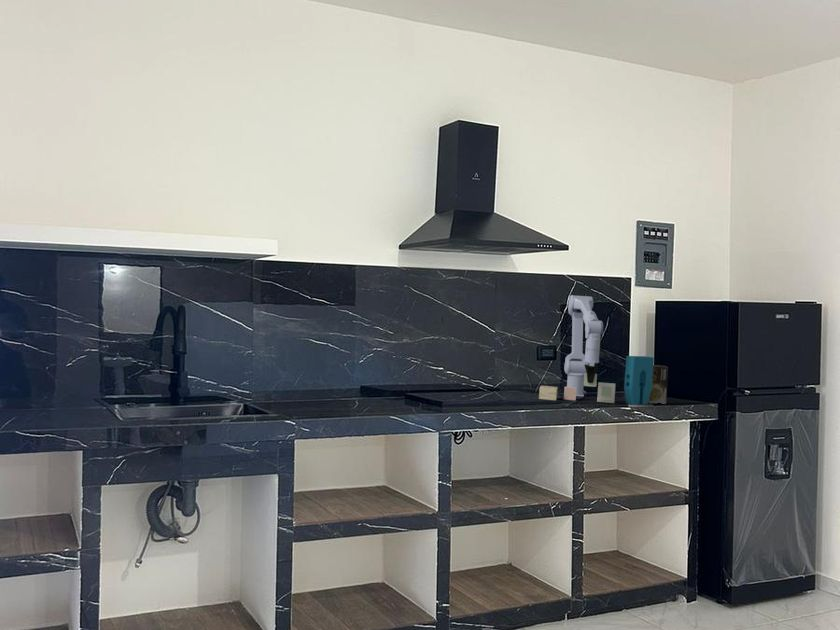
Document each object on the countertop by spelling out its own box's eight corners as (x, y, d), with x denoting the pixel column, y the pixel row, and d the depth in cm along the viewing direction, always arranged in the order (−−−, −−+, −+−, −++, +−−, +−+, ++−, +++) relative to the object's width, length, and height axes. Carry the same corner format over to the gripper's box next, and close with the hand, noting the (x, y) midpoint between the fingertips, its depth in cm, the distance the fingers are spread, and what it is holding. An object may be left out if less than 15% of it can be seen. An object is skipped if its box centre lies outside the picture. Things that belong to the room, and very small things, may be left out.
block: (642, 402, 376) (646, 356, 375) (651, 404, 371) (654, 357, 371) (621, 403, 370) (625, 355, 369) (630, 404, 365) (633, 357, 365)
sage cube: (583, 384, 367) (584, 372, 367) (595, 385, 366) (596, 373, 366) (583, 385, 362) (584, 373, 362) (596, 386, 361) (597, 374, 361)
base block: (540, 397, 372) (541, 385, 372) (556, 398, 371) (557, 387, 371) (538, 399, 365) (539, 387, 365) (555, 400, 364) (556, 388, 364)
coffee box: (663, 402, 382) (666, 365, 381) (666, 404, 375) (668, 367, 375) (642, 401, 383) (644, 364, 382) (644, 402, 376) (647, 365, 376)
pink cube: (563, 398, 374) (564, 386, 374) (575, 399, 373) (576, 387, 373) (563, 399, 369) (564, 387, 369) (575, 400, 369) (576, 388, 368)
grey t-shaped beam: (597, 400, 372) (598, 381, 372) (613, 402, 371) (615, 383, 371) (597, 401, 368) (598, 382, 368) (614, 403, 367) (615, 384, 367)
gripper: (582, 347, 371) (580, 379, 372) (582, 349, 357) (580, 383, 357) (599, 349, 370) (597, 381, 371) (600, 351, 356) (598, 384, 356)
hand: (590, 382), depth 364 cm, fingers closed on sage cube, 5 cm apart
